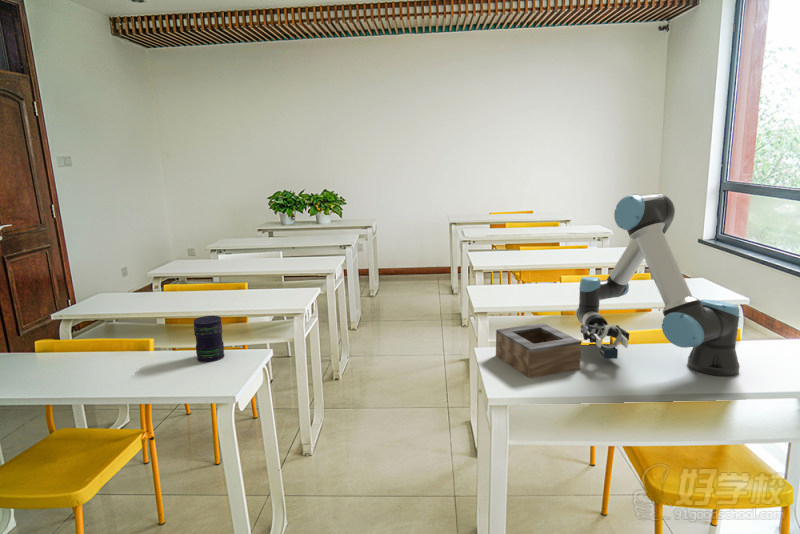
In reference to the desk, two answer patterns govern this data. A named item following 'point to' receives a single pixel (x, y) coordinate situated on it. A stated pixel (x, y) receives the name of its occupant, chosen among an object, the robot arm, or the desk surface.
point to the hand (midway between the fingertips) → (613, 343)
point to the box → (538, 349)
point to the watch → (609, 350)
